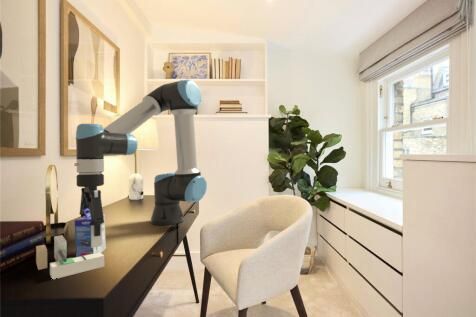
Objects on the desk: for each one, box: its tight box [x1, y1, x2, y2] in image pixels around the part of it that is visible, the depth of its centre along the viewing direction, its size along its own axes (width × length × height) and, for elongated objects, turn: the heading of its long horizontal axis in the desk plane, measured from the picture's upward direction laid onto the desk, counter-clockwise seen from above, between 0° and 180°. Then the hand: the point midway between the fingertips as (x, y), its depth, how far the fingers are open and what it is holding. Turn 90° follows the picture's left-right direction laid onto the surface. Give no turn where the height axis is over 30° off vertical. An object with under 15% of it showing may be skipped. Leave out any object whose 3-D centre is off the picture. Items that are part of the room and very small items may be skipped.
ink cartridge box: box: [74, 208, 107, 258], centre depth 84 cm, size 10×6×14 cm, turn 7°
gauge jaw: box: [53, 234, 68, 262], centre depth 75 cm, size 2×17×6 cm, turn 41°
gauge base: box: [35, 244, 105, 280], centre depth 75 cm, size 14×16×5 cm
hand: (91, 241), depth 83 cm, fingers open, 13 cm apart
